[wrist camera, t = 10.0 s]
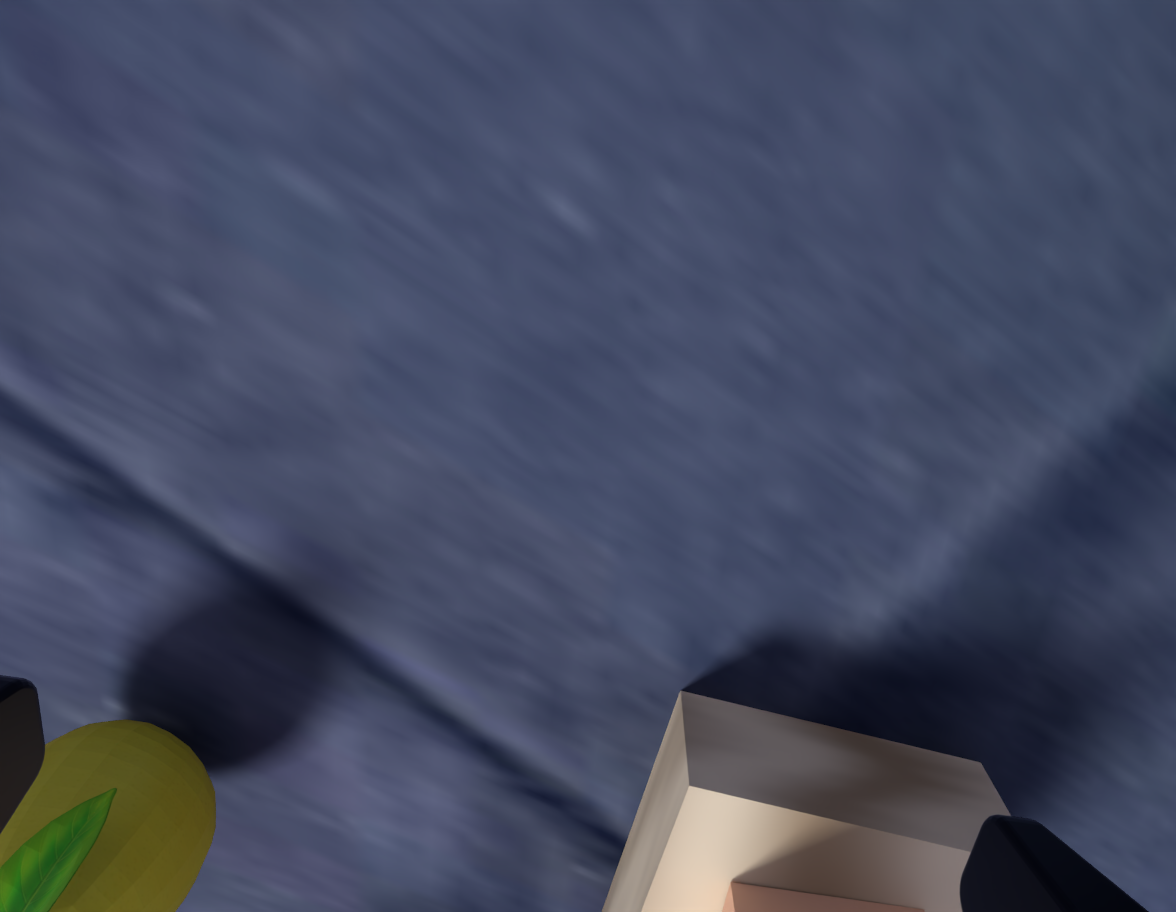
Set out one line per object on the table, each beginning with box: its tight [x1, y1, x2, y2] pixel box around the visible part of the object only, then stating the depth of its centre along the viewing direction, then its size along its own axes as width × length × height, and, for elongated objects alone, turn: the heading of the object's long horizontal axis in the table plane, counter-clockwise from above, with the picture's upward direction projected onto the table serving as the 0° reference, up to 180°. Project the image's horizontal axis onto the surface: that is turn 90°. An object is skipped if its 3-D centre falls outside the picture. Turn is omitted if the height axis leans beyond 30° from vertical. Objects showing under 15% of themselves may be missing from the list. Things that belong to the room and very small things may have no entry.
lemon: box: [0, 720, 216, 912], centre depth 20 cm, size 7×6×10 cm
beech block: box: [602, 691, 1011, 912], centre depth 23 cm, size 9×9×4 cm
